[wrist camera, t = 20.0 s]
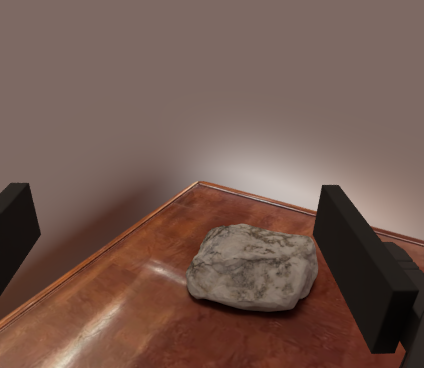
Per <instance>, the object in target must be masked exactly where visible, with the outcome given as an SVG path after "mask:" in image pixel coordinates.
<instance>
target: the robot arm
mask: <svg viewBox="0 0 424 368" xmlns="http://www.w3.org/2000/svg"><path fill="white" fill-rule="evenodd" d="M40 235H41V233H40V229H39V224H38V220H37V216H36V212H35V207H34V203H33V199H32V195H31V190H30V186H29V183H10V184H9V185H8V186H7V187H6V188H5V189H4V190H3V191H2V192H1V193H0V296H1V294H2V293H3V291H4V289H5V288H6V287H7V285H8V283H9V282H10V280H11V279H12V277H13V276H14V274H15V273H16V271H17V270H18V268H19V267H20V265H21V264H22V262H23V261H24V259H25V258H26V256H27V255H28V253H29V252H30V250H31V249H32V247H33V246H34V244H35V243H36V241H37V240H38V238H39V237H40ZM313 236H314V238H315V240H316V242H317V244H318V246H319V248H320V250H321V252H322V254H323V256H324V258H325V260H326V263H327V265H328V267H329V269H330V271H331V273H332V275H333V277H334V279H335V281H336V283H337V285H338V287H339V289H340V291H341V293H342V295H343V297H344V299H345V301H346V303H347V305H348V307H349V309H350V311H351V313H352V315H353V317H354V319H355V321H356V323H357V325H358V327H359V329H360V331H361V333H362V335H363V337H364V339H365V341H366V343H367V346H368V348H369V350H370V352H371V354H386V353H395V350H396V348H397V345H398V343H399V340H400V342H401V344H402V346H403V347H404V349H405V351H406V353H405V355H404V358H403V360H402V362H401V365H400V367H399V368H424V273H423V272H422V271H421V270H419V267H418V266H417V265H416V263H415V262H413V260H412V259H411V257H410V256H409V255H408V254H407V253H406V251H405V250H403V249H402V248H400V247H399V246H398V245H396V244H395V243H393V242H382V241H381V240H380V238H379V237H378V236H377V235H376V233H375V232H374V231H373V229H372V228H371V227H370V225H369V224H368V223H367V222H366V220H365V219H364V218H363V216H362V215H361V214H360V212H359V211H358V210H357V208H356V207H355V206H354V205H353V203H352V202H351V201H350V199H349V198H348V197H347V196H346V194H345V193H344V192H343V190H342V189H341V188H340V186H339V185H322V189H321V194H320V199H319V204H318V209H317V214H316V220H315V225H314V230H313Z"/></svg>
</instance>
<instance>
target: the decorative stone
mask: <svg viewBox="0 0 424 368" xmlns="http://www.w3.org/2000/svg"><path fill="white" fill-rule="evenodd" d="M317 274H318V265H317V258H316V249H315V245H314V242H313V240H312V239H311V238H310V237H308V236H302V235H293V234H285V233H281V232H273V231H268V230H265V229H261V228H258V227H254V226H250V225H246V224H239V225H230V226H226V227H225V226H220V227H217V228H213V229H211V230H210V231H209V232H208V234H207V235H206V237H205V239H204V241H203V243H202V244H201V246H200V250H199V252H198V255H196V256H195V257H194V259H193V261H192V262H191V264H190V266H189V267H188V269H187V273H186V278H187V287H188V290H189V292H190V293H191V295H192V296H193V297H195V298H196V299H202V298H204V299H208V300H212V301H215V302H219V303H222V304H225V305H228V306H232V307H235V308H239V309H244V310H253V311H265V312H271V311H282V310H290V309H292V308H294V307H295V305H296V303H297V302H298V300H299V299H302V298H304V297H306V296H307V295H308V294H309V291H310V288H311V287H312V284H313V281H314V280H315V278H316V276H317Z"/></svg>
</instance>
